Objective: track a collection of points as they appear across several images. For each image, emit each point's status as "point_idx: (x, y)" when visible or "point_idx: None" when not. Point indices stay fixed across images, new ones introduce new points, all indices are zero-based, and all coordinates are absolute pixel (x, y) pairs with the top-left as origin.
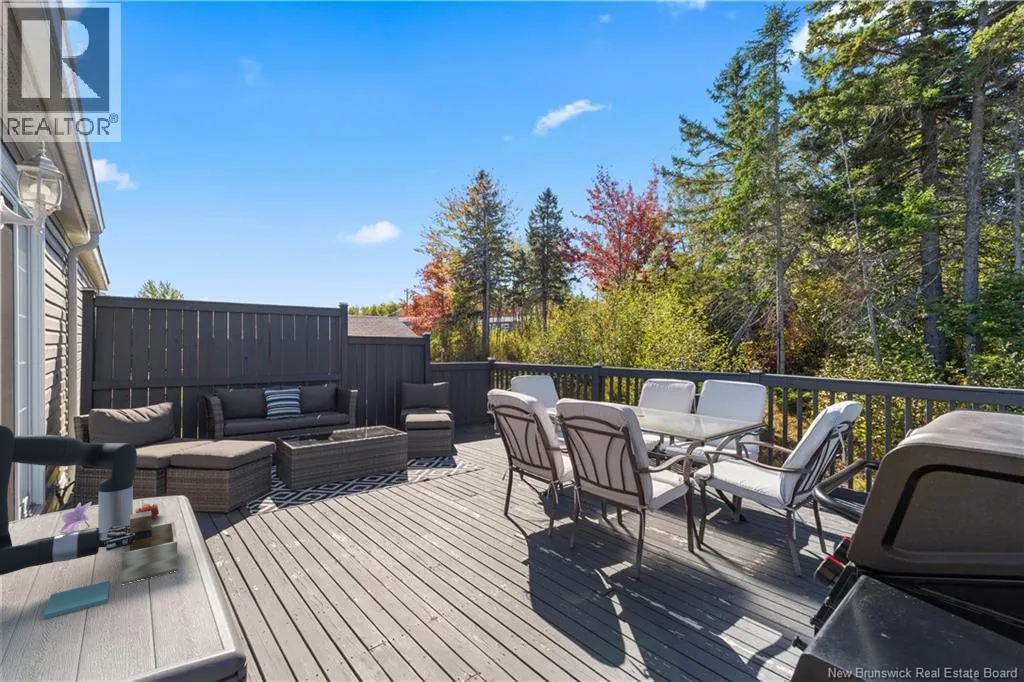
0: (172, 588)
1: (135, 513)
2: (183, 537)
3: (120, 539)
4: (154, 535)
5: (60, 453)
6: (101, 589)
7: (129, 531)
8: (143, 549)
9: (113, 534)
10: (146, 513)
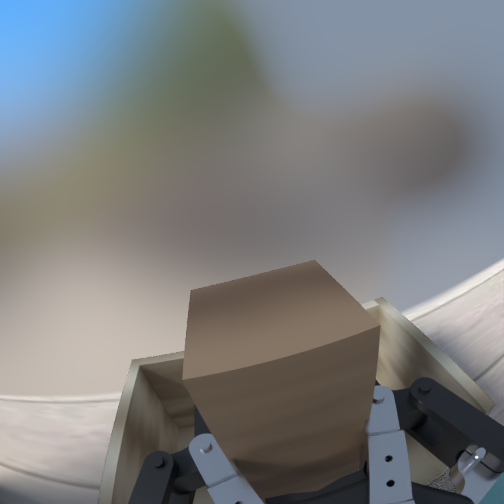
0: (462, 343)
1: (187, 350)
2: (104, 411)
3: (475, 410)
4: (148, 436)
5: None
6: (492, 489)
7: (195, 485)
8: (446, 356)
9: (411, 499)
10: (248, 290)
